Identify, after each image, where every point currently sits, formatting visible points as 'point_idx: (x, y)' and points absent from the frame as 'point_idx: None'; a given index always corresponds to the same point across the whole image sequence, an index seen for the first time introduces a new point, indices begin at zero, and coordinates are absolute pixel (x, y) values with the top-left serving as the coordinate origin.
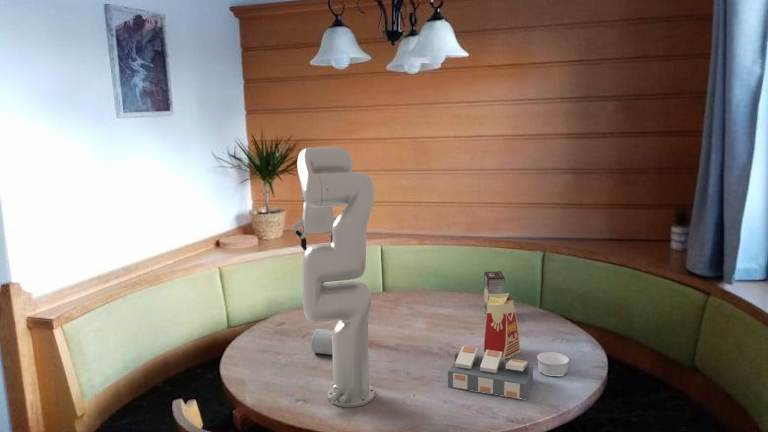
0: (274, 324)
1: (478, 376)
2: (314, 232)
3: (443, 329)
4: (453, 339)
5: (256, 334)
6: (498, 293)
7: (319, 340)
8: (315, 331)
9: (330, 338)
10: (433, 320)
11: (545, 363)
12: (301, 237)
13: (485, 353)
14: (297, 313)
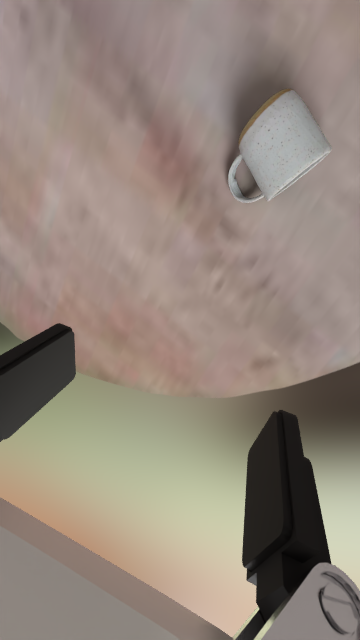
0: (274, 369)
1: None
2: (148, 600)
3: (20, 147)
4: (15, 74)
5: (335, 351)
6: None
7: (317, 126)
8: (313, 157)
9: (293, 100)
10: (26, 206)
11: None
12: (352, 606)
13: None
14: (211, 382)
